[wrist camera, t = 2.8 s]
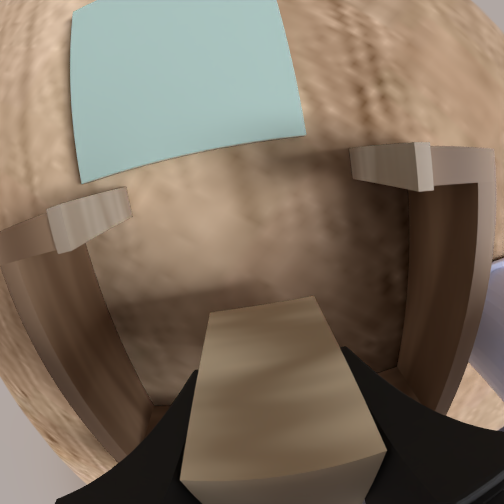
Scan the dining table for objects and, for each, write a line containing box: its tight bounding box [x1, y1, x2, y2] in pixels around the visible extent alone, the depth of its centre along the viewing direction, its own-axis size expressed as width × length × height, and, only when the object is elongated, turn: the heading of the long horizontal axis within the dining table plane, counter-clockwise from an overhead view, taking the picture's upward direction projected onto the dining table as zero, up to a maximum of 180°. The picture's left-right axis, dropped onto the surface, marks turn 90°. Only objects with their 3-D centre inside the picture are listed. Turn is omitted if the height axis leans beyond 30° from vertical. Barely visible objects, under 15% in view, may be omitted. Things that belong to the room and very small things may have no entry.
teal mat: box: [70, 0, 306, 184], centre depth 9 cm, size 10×10×1 cm
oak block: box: [180, 296, 387, 504], centre depth 8 cm, size 4×4×7 cm
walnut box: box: [0, 142, 496, 463], centre depth 11 cm, size 18×14×5 cm
